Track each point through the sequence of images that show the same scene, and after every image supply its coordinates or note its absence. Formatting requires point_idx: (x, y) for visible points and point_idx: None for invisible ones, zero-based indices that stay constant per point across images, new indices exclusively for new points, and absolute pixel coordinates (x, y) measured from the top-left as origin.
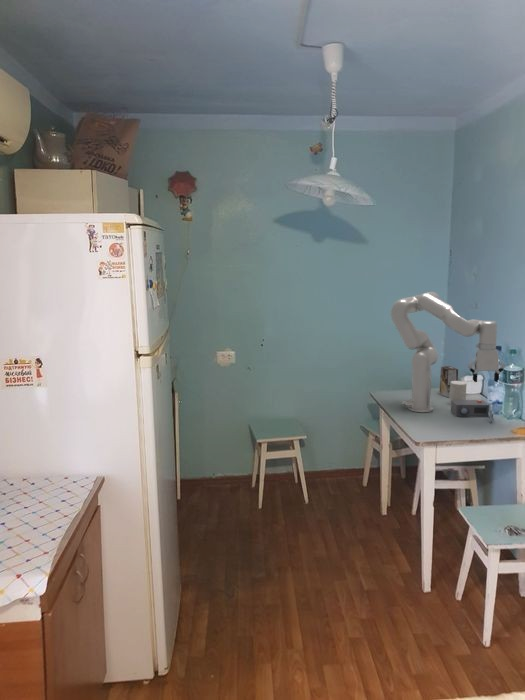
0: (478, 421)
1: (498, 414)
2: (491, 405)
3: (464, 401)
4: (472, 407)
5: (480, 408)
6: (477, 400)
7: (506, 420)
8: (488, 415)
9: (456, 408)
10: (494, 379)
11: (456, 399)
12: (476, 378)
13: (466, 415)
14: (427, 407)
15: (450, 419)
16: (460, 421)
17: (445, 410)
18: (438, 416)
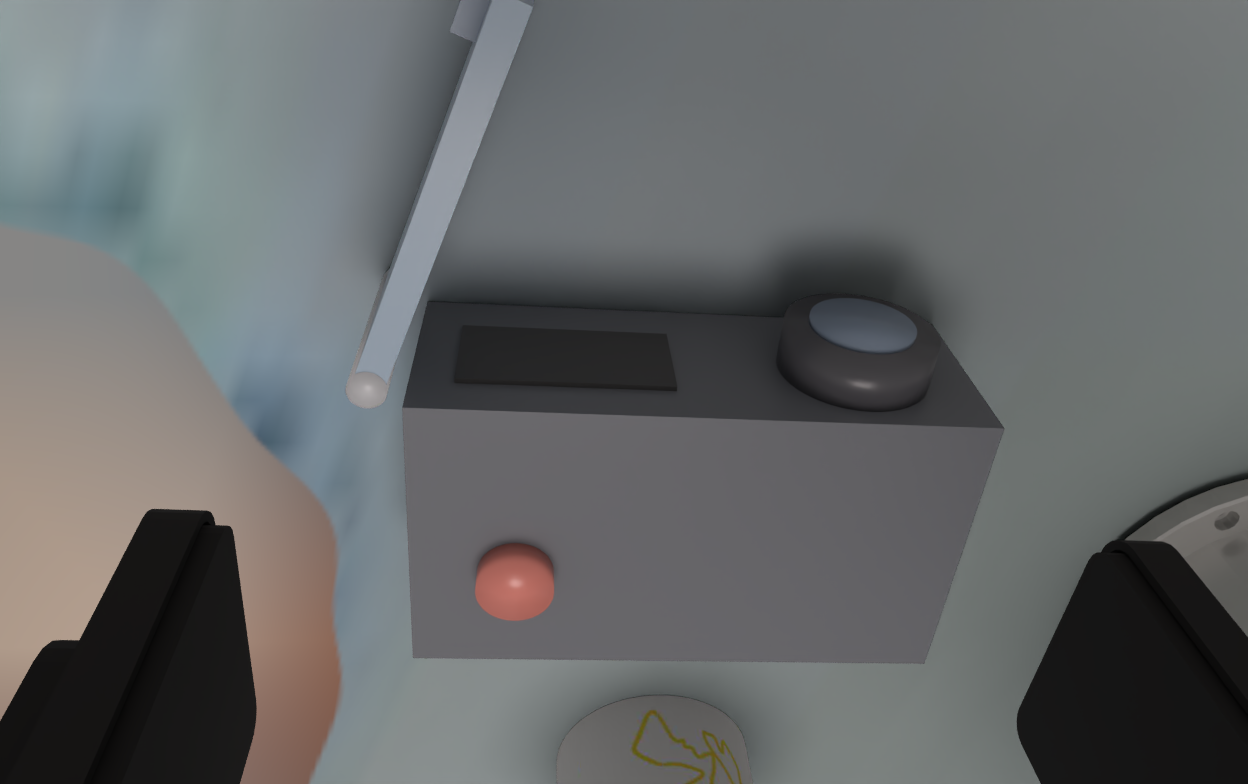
0: (697, 58)
1: (231, 395)
2: (378, 354)
3: (760, 591)
4: (709, 390)
5: (567, 372)
6: (553, 585)
7: (174, 95)
8: (425, 310)
9: (974, 391)
10: (238, 738)
11: (713, 778)
12: (1240, 663)
13: (776, 323)
14: (1234, 557)
15: (1103, 180)
16: (1004, 70)
17: None
18: (1190, 323)
